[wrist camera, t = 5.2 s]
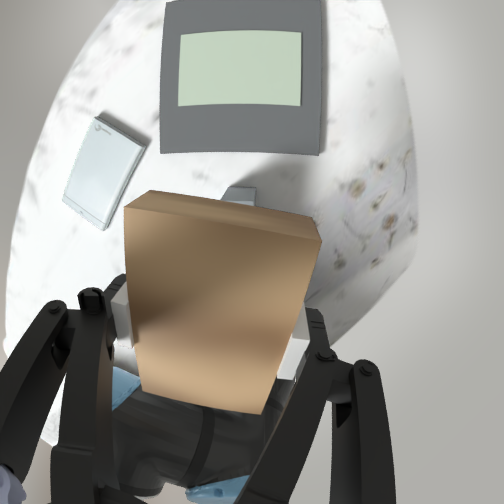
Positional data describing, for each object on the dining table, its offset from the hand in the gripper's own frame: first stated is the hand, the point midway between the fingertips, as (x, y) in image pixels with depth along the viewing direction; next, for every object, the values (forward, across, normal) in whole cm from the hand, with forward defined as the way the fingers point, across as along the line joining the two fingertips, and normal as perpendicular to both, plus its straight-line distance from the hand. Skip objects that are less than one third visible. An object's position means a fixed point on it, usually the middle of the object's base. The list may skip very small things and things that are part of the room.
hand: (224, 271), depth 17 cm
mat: (+16, +3, -15) cm, 22 cm away
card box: (-4, 0, 0) cm, 4 cm away
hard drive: (+16, +19, -1) cm, 25 cm away
